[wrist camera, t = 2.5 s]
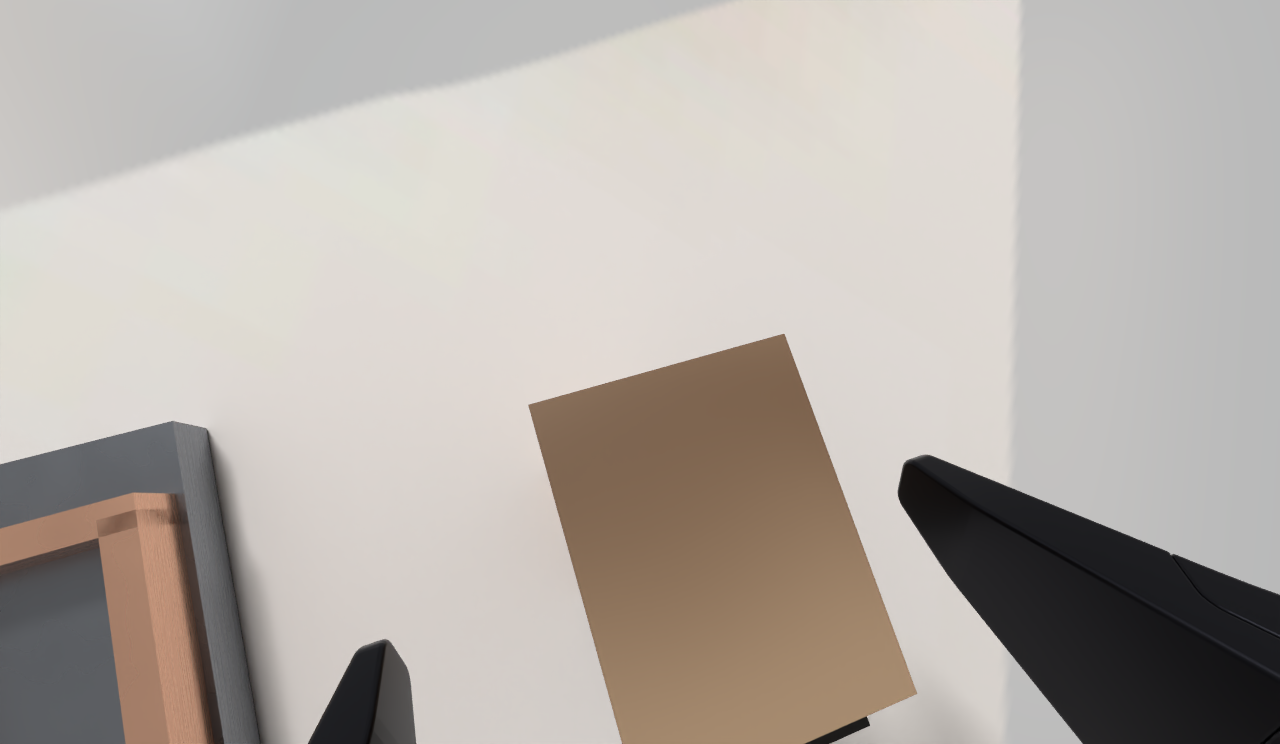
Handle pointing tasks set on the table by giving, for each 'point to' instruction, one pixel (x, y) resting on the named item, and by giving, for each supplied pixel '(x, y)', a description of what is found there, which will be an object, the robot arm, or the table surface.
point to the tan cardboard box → (719, 555)
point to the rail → (119, 597)
